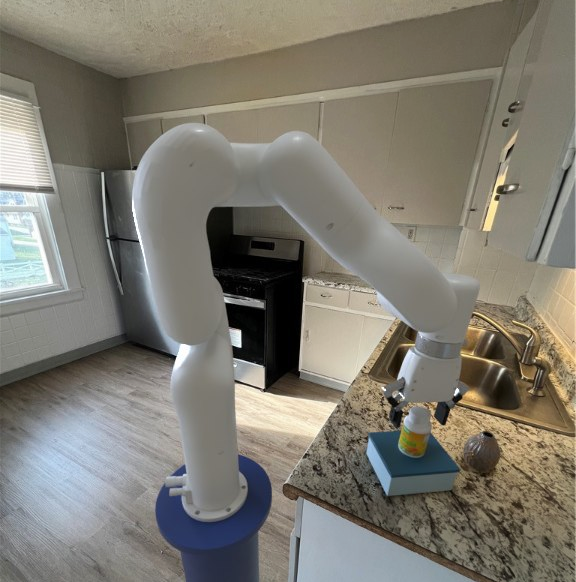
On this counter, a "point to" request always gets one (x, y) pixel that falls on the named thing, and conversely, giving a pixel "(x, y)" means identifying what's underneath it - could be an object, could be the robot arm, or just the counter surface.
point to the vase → (482, 451)
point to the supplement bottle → (415, 432)
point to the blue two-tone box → (410, 466)
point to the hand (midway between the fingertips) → (417, 422)
